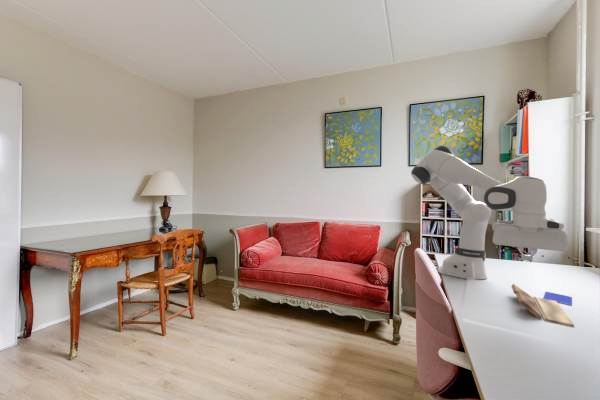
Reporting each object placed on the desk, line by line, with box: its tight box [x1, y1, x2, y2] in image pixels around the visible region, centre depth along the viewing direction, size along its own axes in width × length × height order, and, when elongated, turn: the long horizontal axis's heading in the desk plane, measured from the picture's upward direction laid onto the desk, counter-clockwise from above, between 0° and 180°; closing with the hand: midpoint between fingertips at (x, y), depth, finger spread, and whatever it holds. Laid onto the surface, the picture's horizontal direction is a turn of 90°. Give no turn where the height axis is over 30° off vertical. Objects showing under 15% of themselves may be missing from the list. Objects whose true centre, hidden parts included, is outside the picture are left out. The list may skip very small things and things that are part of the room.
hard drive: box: [542, 291, 573, 307], centre depth 107 cm, size 2×8×12 cm
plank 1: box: [511, 283, 536, 306], centre depth 104 cm, size 7×10×1 cm
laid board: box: [532, 296, 575, 327], centre depth 95 cm, size 7×23×1 cm, turn 146°
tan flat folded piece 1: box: [515, 292, 543, 320], centre depth 94 cm, size 7×10×1 cm
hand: (526, 260), depth 94 cm, fingers closed
